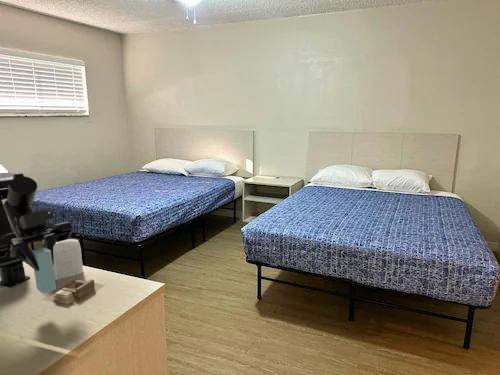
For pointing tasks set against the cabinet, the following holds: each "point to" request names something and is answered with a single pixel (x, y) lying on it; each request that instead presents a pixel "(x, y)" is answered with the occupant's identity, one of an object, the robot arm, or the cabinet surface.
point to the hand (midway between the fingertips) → (45, 267)
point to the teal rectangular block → (44, 270)
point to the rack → (74, 292)
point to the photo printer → (67, 259)
